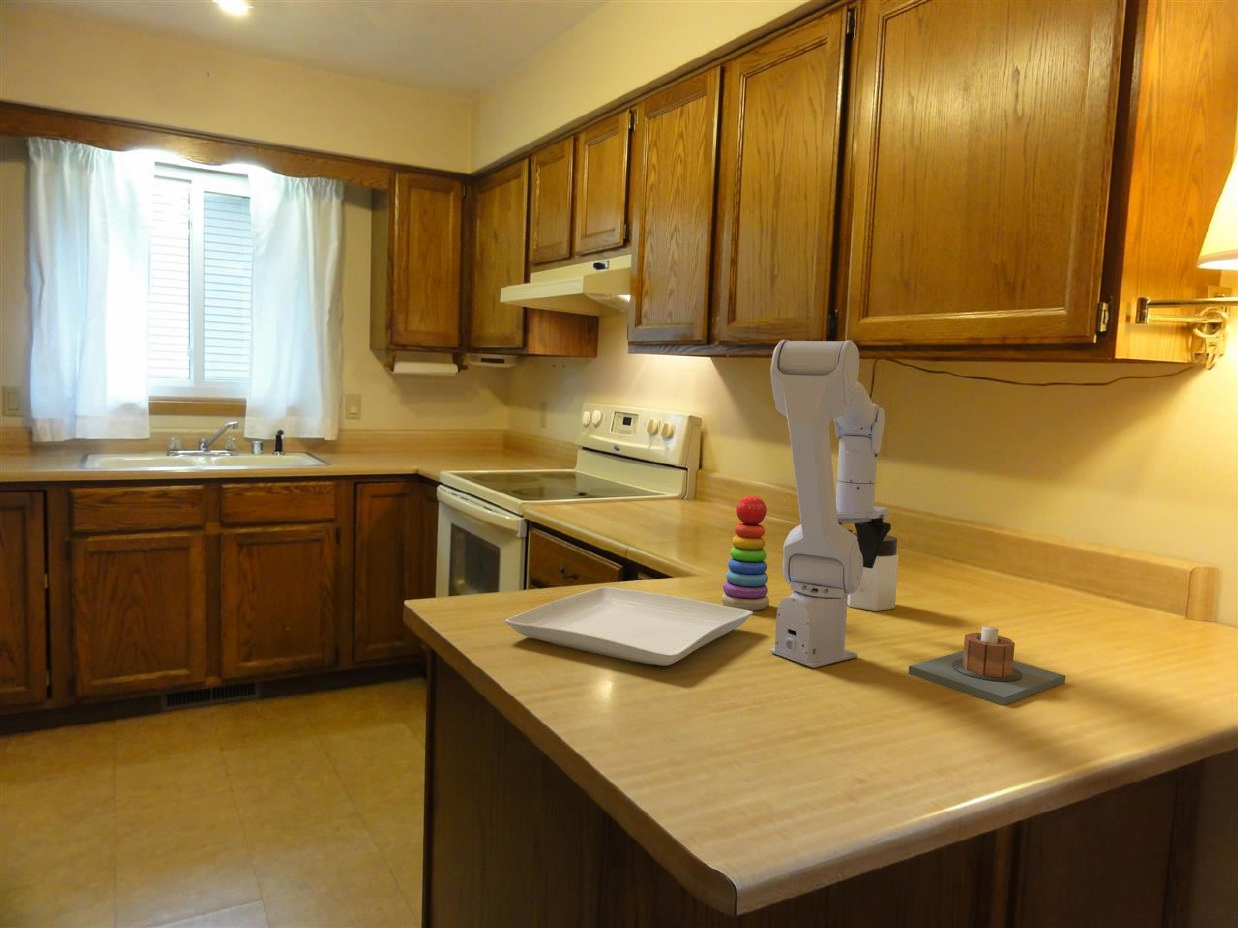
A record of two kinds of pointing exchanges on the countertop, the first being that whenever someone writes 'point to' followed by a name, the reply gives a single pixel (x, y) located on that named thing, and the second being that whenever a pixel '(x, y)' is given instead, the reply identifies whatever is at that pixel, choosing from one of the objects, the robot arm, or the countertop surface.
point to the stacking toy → (748, 559)
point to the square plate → (629, 624)
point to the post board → (987, 687)
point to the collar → (988, 656)
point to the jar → (878, 580)
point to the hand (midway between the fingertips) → (850, 569)
